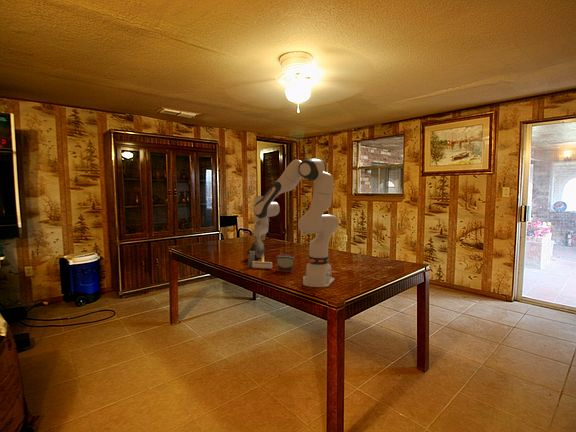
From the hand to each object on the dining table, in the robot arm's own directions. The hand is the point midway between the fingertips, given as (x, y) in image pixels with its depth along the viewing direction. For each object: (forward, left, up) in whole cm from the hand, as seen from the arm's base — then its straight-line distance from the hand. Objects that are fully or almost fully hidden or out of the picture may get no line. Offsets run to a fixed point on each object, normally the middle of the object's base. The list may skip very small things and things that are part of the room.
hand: (261, 241), depth 203 cm
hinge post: (+6, +10, -20) cm, 23 cm away
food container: (+5, -16, -20) cm, 26 cm away
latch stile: (+20, +14, -20) cm, 31 cm away
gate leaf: (+6, +1, -19) cm, 20 cm away
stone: (+34, +16, -20) cm, 42 cm away
